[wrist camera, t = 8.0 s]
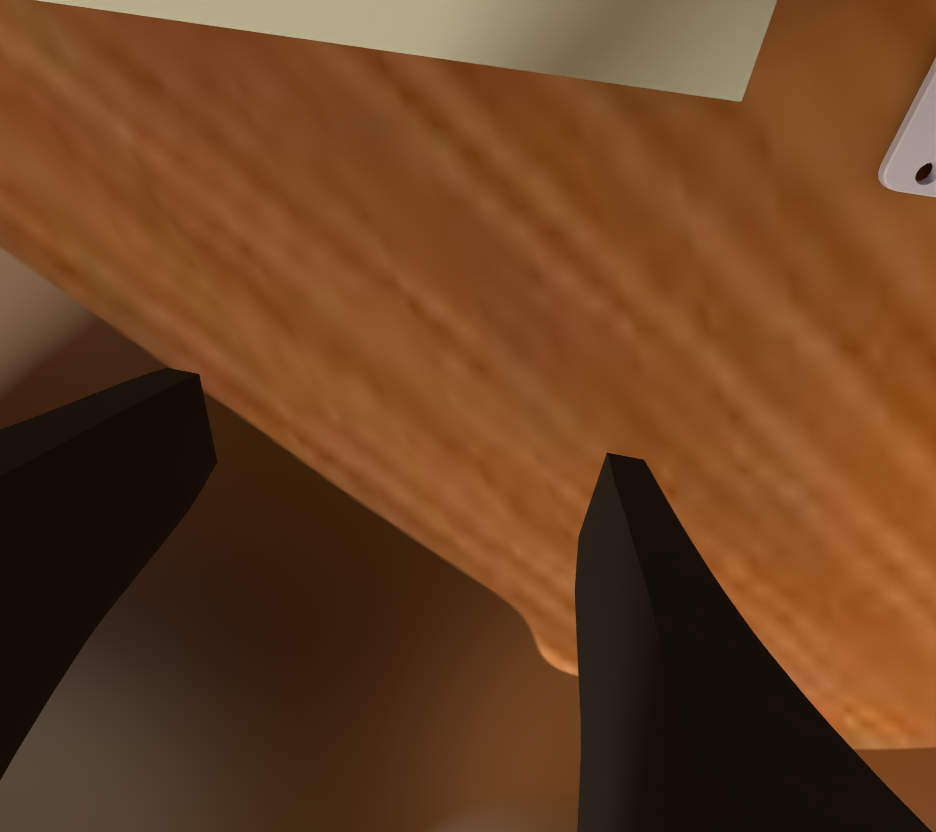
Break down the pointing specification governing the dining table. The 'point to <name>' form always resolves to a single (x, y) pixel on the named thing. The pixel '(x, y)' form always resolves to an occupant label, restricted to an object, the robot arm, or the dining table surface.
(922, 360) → the dining table surface
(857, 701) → the dining table surface
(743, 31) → the lid
